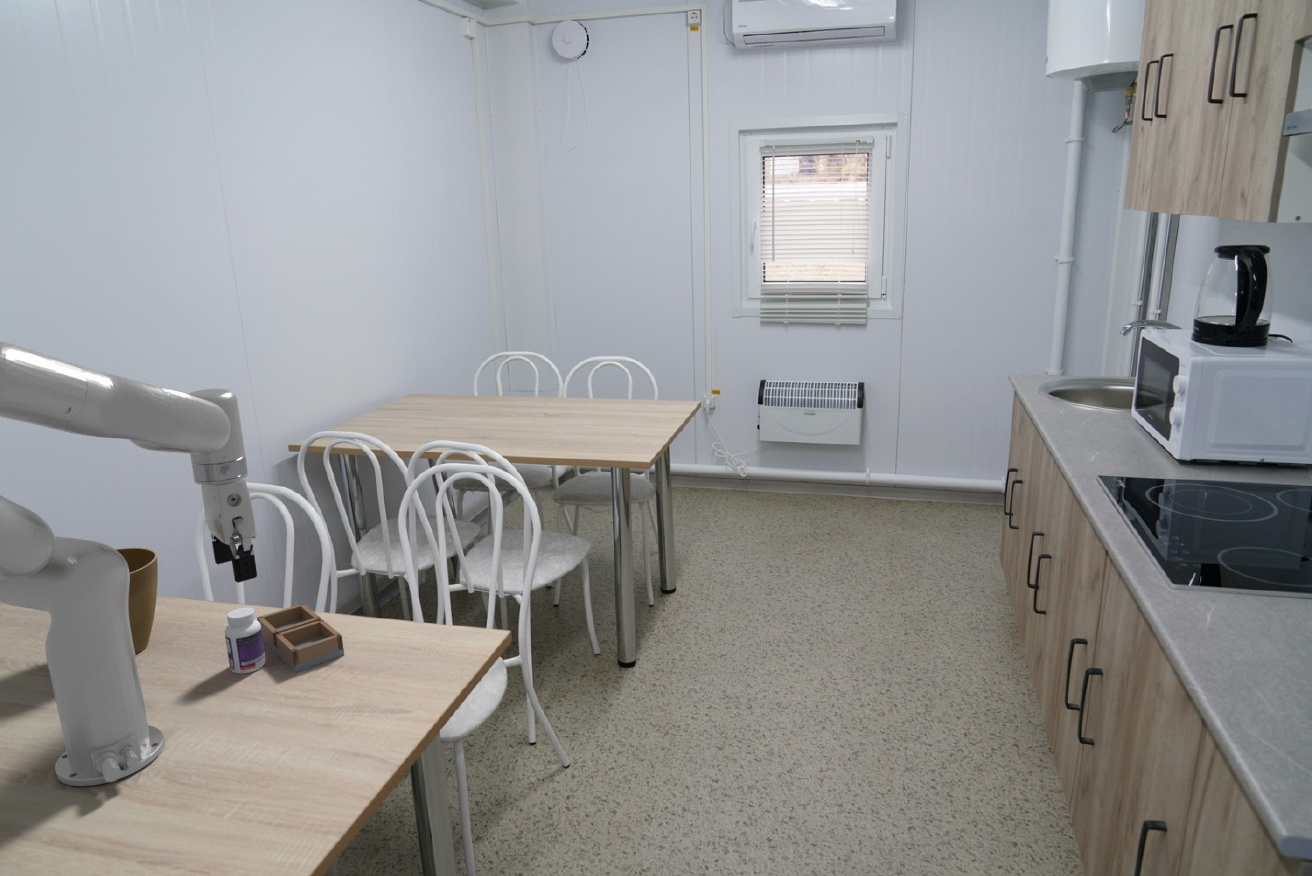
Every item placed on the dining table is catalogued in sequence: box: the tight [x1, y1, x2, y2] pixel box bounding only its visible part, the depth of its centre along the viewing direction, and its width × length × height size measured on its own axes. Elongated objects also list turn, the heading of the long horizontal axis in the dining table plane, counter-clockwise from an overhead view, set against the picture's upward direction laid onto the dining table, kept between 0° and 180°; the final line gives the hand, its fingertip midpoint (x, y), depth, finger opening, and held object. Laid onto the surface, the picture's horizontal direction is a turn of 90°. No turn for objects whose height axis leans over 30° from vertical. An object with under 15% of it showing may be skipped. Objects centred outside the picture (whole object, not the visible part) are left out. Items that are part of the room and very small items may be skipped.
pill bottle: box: [224, 607, 267, 675], centre depth 138 cm, size 5×5×10 cm
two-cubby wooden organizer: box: [256, 603, 345, 673], centre depth 145 cm, size 17×8×4 cm, turn 43°
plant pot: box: [114, 547, 159, 655], centre depth 143 cm, size 15×15×16 cm
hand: (236, 570), depth 135 cm, fingers open, 9 cm apart
